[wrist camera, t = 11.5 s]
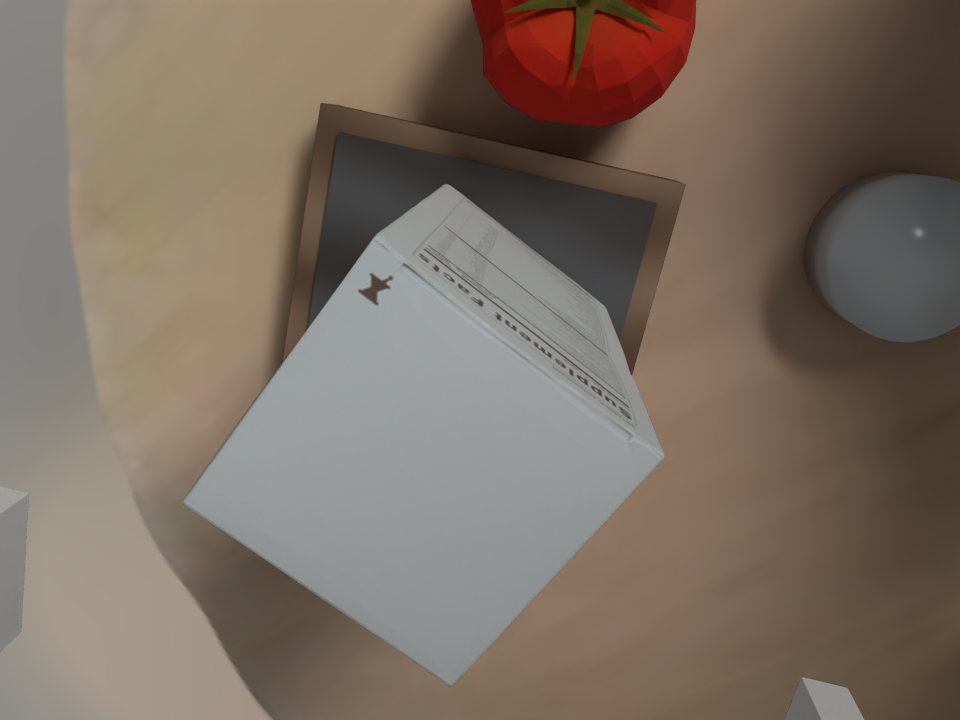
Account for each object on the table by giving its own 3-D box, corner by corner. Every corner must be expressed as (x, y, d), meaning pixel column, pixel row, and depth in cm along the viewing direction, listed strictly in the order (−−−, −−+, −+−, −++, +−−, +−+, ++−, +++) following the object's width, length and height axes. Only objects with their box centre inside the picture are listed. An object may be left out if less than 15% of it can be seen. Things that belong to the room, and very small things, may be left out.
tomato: (661, 137, 36) (691, 139, 29) (466, 111, 37) (448, 108, 30) (703, -94, 34) (746, -154, 27) (492, -119, 34) (479, -185, 27)
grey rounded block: (832, 156, 36) (862, 159, 33) (985, 190, 36) (1031, 196, 33) (783, 305, 38) (806, 322, 35) (928, 337, 38) (966, 357, 35)
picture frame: (334, 104, 37) (318, 102, 34) (676, 180, 37) (687, 184, 34) (286, 423, 42) (268, 443, 39) (589, 492, 41) (592, 517, 39)
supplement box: (324, 338, 37) (159, 500, 21) (443, 176, 35) (359, 219, 19) (489, 460, 38) (451, 703, 22) (615, 311, 36) (677, 462, 20)
